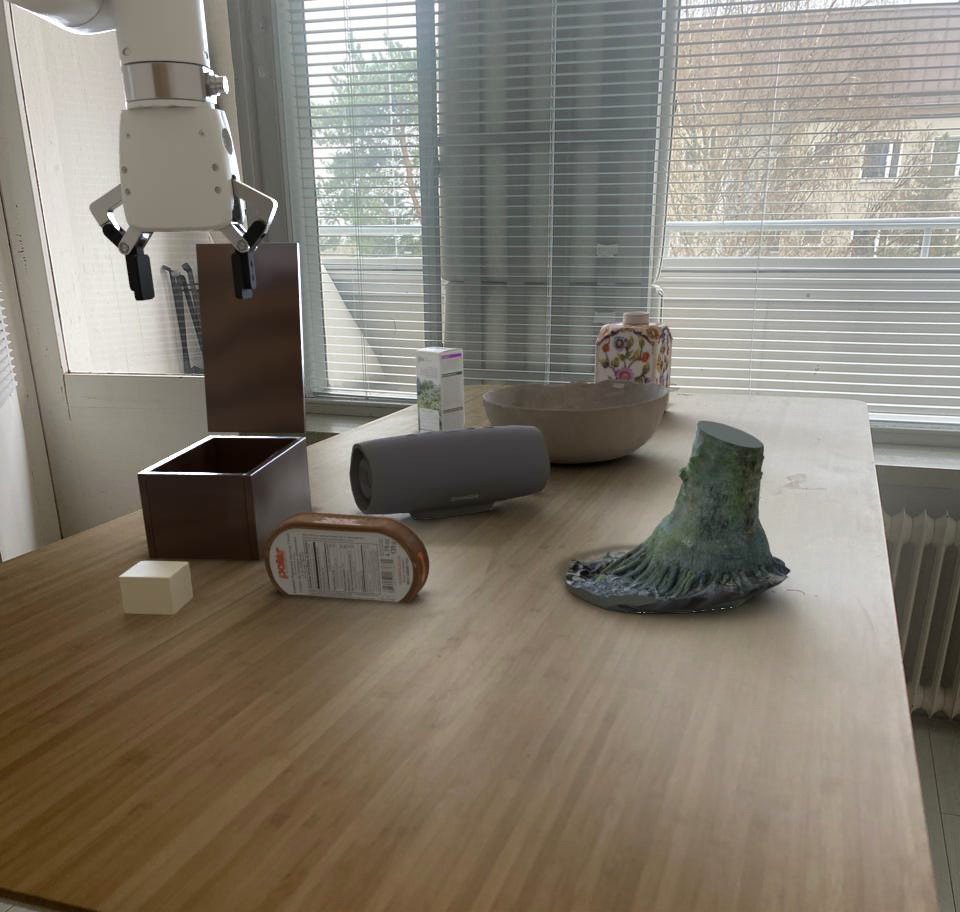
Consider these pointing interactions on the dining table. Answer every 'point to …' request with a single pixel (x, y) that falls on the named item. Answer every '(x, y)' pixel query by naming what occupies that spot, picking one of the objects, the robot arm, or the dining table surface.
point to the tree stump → (694, 538)
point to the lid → (252, 341)
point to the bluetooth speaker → (448, 470)
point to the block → (156, 587)
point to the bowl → (582, 416)
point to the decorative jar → (634, 351)
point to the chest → (223, 496)
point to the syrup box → (439, 388)
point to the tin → (346, 557)
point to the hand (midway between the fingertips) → (194, 299)
